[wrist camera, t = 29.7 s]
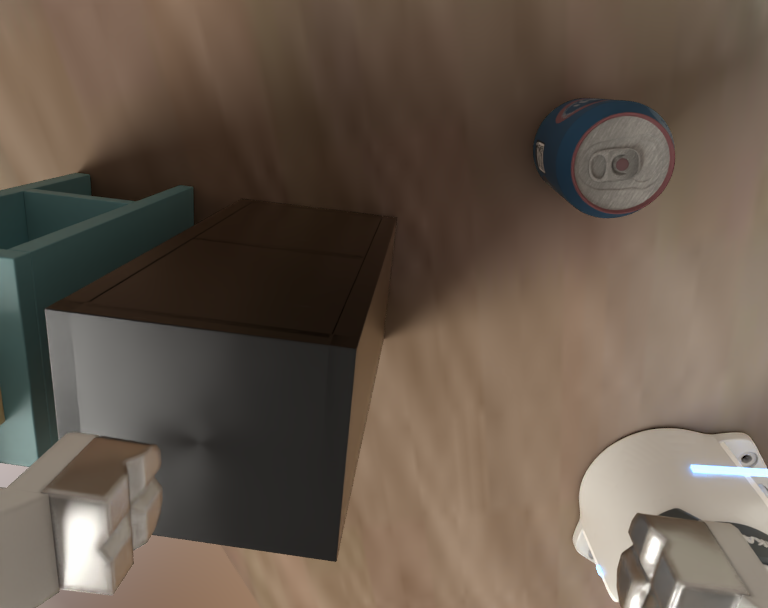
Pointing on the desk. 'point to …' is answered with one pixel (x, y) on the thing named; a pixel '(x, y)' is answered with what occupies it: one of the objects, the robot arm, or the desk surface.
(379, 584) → the desk surface
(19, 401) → the stand
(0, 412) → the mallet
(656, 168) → the soda can
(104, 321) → the shelf
